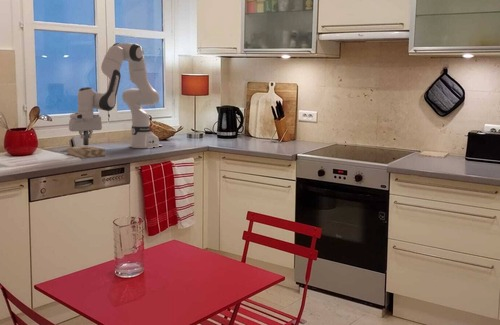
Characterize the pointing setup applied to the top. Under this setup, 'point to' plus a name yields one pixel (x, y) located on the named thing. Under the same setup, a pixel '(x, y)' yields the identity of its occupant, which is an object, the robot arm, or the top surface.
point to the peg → (86, 138)
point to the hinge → (76, 141)
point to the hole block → (86, 151)
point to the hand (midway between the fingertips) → (85, 138)
